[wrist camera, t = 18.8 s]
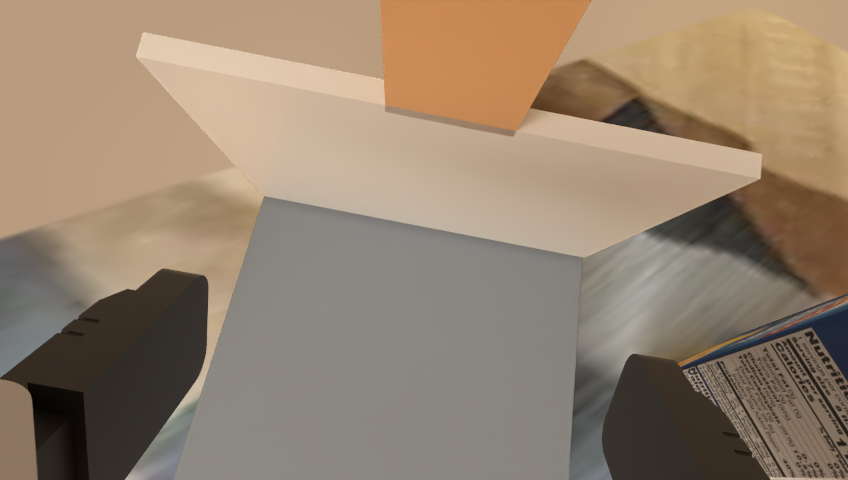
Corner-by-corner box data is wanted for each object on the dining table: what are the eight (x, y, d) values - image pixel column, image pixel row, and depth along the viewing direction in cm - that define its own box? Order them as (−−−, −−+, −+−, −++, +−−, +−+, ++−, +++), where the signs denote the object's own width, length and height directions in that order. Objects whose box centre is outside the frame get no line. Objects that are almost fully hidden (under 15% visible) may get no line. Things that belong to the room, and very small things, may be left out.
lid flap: (-48, -146, 10) (-3, -258, 10) (262, 195, 32) (271, 156, 33) (1011, 66, 10) (1009, -51, 10) (584, 257, 33) (589, 218, 33)
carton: (222, 484, 36) (170, 487, 27) (288, 254, 42) (265, 193, 33) (514, 538, 36) (563, 559, 27) (536, 302, 42) (582, 254, 33)
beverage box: (625, 386, 40) (880, 298, 20) (746, 332, 43) (1081, 204, 23) (675, 481, 38) (1017, 489, 18) (799, 418, 41) (1223, 363, 20)
